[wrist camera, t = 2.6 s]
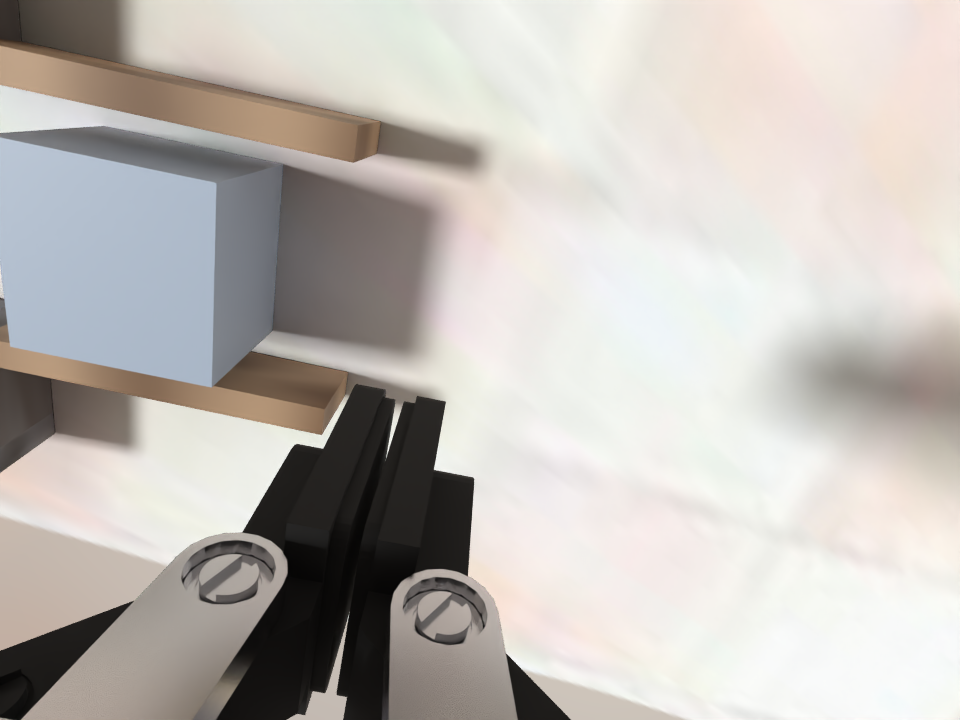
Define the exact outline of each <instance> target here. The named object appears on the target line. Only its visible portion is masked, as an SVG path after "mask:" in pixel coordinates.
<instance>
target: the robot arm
mask: <svg viewBox="0 0 960 720" xmlns="http://www.w3.org/2000/svg"><path fill="white" fill-rule="evenodd" d="M385 394H386V390H384V389H379V388H374V387H369V386H363V385H358V384H356V385H355V386H354V388H353V390H352V392H351V394H350V396H349V398H348V400H347V402H346V404H345V407H344V409H343V411H342V413H341V415H340V417H339V419H338V421H337V423H336V425H335V427H334V429H333V431H332V433H331V435H330V437H329V439H328V441H327V443H326V445H325V447H324V449H321V448H316V447H310V446H305V445H300V444H296V445H294V446H293V448H292V449H291V451H290V452H289V454H288V456H287V457H286V459H285V461H284V463H283V464H282V466H281V468H280V469H279V471H278V473H277V474H276V476H275V478H274V480H273V481H272V483H271V485H270V486H269V488H268V490H267V491H266V493H265V495H264V497H263V498H262V500H261V502H260V503H259V505H258V507H257V508H256V510H255V512H254V514H253V515H252V517H251V519H250V520H249V522H248V524H247V525H246V527H245V529H244V531H243V532H242V533H223V534H219V535H214V536H210V537H207V538H204V539H202V540H200V541H198V542H196V543H194V544H191V545H190V546H189V547H188V548H186V549H185V550H184V551H182V552H181V553H180V554H179V555H178V556H177V557H176V558H175V559H174V560H173V561H172V562H171V563H170V564H169V565H168V566H167V567H166V568H165V569H164V570H163V572H162V573H161V574H160V575H159V576H158V577H157V578H156V579H155V580H154V581H153V582H152V583H151V584H150V585H149V586H148V587H147V588H146V589H145V590H144V591H143V592H142V593H141V595H140V596H139V597H138V598H137V599H136V600H135V601H132V602H129V603H127V604H124V605H121V606H119V607H116V608H113V609H111V610H108V611H106V612H103V613H100V614H97V615H95V616H92V617H89V618H87V619H84V620H81V621H79V622H76V623H73V624H71V625H68V626H65V627H63V628H60V629H57V630H55V631H52V632H49V633H47V634H44V635H41V636H39V637H36V638H33V639H31V640H28V641H26V642H23V643H20V644H17V645H14V646H12V647H9V648H7V649H4V650H1V651H0V720H287V719H289V718H290V717H292V716H293V715H295V714H302V715H305V713H306V710H307V707H308V704H309V701H310V698H311V694H312V691H316V692H321V693H325V692H326V690H327V687H328V684H329V680H330V677H331V673H332V670H333V667H334V663H335V659H336V656H337V653H338V649H339V646H340V643H341V639H342V636H343V632H344V629H345V625H346V622H347V619H348V615H349V619H348V625H347V632H346V638H345V644H344V651H343V657H342V663H341V669H340V675H339V682H338V688H337V695H339V696H345V697H347V701H346V707H345V713H344V719H343V720H570V719H569V717H568V716H567V715H566V714H565V713H564V712H563V711H562V710H561V709H560V708H559V707H558V706H557V705H556V704H555V703H554V702H553V701H552V700H551V699H550V698H549V697H548V696H547V695H546V694H545V693H544V692H543V691H542V690H541V689H540V688H539V687H538V686H537V685H536V684H535V683H534V682H533V681H532V680H531V678H529V677H528V675H527V674H526V673H525V672H524V671H523V670H522V669H521V668H520V667H519V666H518V665H517V664H516V663H515V662H514V661H513V660H512V659H511V658H510V657H509V656H508V655H507V654H506V652H505V646H504V640H503V635H502V629H501V624H500V618H499V613H498V610H497V607H496V604H495V601H494V599H493V598H492V596H491V595H490V594H489V592H488V591H487V590H486V589H485V587H483V586H482V585H481V584H479V583H478V582H477V581H475V580H474V579H473V578H471V577H468V565H469V550H470V535H471V521H472V506H473V491H474V478H473V477H468V476H462V475H457V474H452V473H447V472H441V471H436V470H434V465H435V460H436V454H437V448H438V443H439V437H440V432H441V426H442V420H443V415H444V409H445V403H446V402H445V401H440V400H435V399H430V398H424V397H419V396H417V398H416V402H415V403H410V402H405V401H404V404H403V407H402V410H401V413H400V416H399V419H398V423H397V426H396V429H395V432H394V435H393V439H392V442H391V445H390V448H389V451H388V455H387V458H386V454H387V449H388V443H389V437H390V431H391V425H392V419H393V413H394V407H395V399H390V398H385ZM385 460H386V461H385ZM349 612H350V613H349Z"/></svg>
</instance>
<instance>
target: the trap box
mask: <svg viewBox="0 0 960 720" xmlns="http://www.w3.org/2000/svg"><path fill="white" fill-rule="evenodd" d="M0 85H4V86H8V87H13V88H18V89H22V90H27V91H31V92H36V93H40V94H45V95H49V96H54V97H58V98H63V99H67V100H72V101H76V102H81V103H85V104H90V105H95V106H99V107H104V108H108V109H113V110H117V111H122V112H126V113H131V114H135V115H140V116H144V117H149V118H153V119H158V120H163V121H167V122H172V123H176V124H181V125H185V126H190V127H194V128H199V129H203V130H208V131H212V132H217V133H221V134H226V135H230V136H235V137H240V138H244V139H249V140H253V141H258V142H262V143H267V144H271V145H276V146H280V147H285V148H289V149H294V150H298V151H303V152H307V153H312V154H317V155H321V156H326V157H330V158H335V159H339V160H344V161H348V162H353V163H354V162H357V161H359V160H362V159H364V158H367V157H370V156H372V155H375V154H377V147H378V139H379V132H380V124H381V121H376V120H372V119H367V118H363V117H358V116H354V115H349V114H345V113H340V112H336V111H331V110H327V109H322V108H318V107H313V106H309V105H304V104H300V103H295V102H291V101H286V100H282V99H277V98H273V97H269V96H264V95H260V94H255V93H251V92H246V91H242V90H237V89H233V88H228V87H224V86H219V85H215V84H210V83H206V82H201V81H197V80H192V79H188V78H183V77H179V76H174V75H170V74H165V73H161V72H156V71H152V70H147V69H143V68H138V67H134V66H129V65H125V64H120V63H116V62H111V61H107V60H102V59H98V58H93V57H89V56H84V55H80V54H75V53H71V52H66V51H62V50H57V49H53V48H48V47H44V46H39V45H35V44H31V43H26V42H22V41H21V31H20V19H19V8H18V0H0ZM347 376H348V372H344V371H339V370H335V369H330V368H325V367H321V366H316V365H311V364H306V363H302V362H297V361H292V360H288V359H283V358H278V357H273V356H269V355H264V354H259V353H255V352H249V353H248V354H247V355H246V356H245V357H244V358H243V359H242V360H240V361H239V362H238V363H237V364H236V365H235V366H234V367H233V368H232V369H231V370H230V371H229V372H228V373H227V374H226V375H225V376H223V377H222V378H221V379H220V380H219V381H218V382H217V383H216V384H215V385H214V386H213V387H212V388H211V387H206V386H201V385H197V384H192V383H187V382H182V381H177V380H172V379H167V378H162V377H157V376H152V375H147V374H142V373H137V372H132V371H127V370H122V369H118V368H113V367H108V366H103V365H98V364H93V363H88V362H83V361H78V360H73V359H68V358H63V357H58V356H53V355H48V354H43V353H39V352H34V351H29V350H24V349H19V348H14V347H10V341H9V333H8V324H7V316H6V308H5V300H4V299H0V472H2V471H3V470H5V469H6V468H7V467H9V466H10V465H12V464H13V463H14V462H16V461H17V460H19V459H20V458H21V457H23V456H24V455H25V454H27V453H28V452H30V451H31V450H32V449H34V448H35V447H37V446H38V445H39V444H41V443H42V442H44V441H45V440H46V439H48V438H49V437H50V436H52V435H53V434H55V430H54V418H53V406H52V395H51V383H50V378H52V379H57V380H61V381H66V382H71V383H76V384H81V385H85V386H90V387H95V388H100V389H104V390H109V391H114V392H119V393H124V394H128V395H133V396H138V397H143V398H148V399H152V400H157V401H162V402H167V403H171V404H176V405H181V406H186V407H191V408H195V409H200V410H205V411H210V412H214V413H219V414H224V415H229V416H234V417H238V418H243V419H248V420H253V421H257V422H262V423H267V424H272V425H277V426H281V427H286V428H291V429H296V430H301V431H305V432H310V433H315V434H320V435H322V434H323V432H324V430H325V428H326V427H327V425H328V423H329V422H330V420H331V418H332V417H333V415H334V413H335V411H336V410H337V408H338V406H339V405H340V403H341V401H342V400H343V398H344V396H345V391H346V383H347Z"/></svg>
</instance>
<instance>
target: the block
mask: <svg viewBox="0 0 960 720" xmlns="http://www.w3.org/2000/svg"><path fill="white" fill-rule="evenodd" d="M282 177H283V164H280V163H275V162H271V161H266V160H261V159H256V158H252V157H247V156H242V155H237V154H233V153H228V152H223V151H219V150H214V149H209V148H204V147H200V146H195V145H190V144H185V143H181V142H176V141H171V140H167V139H162V138H157V137H152V136H148V135H143V134H138V133H133V132H129V131H124V130H119V129H115V128H110V127H105V126H98V127H83V128H69V129H54V130H39V131H25V132H10V133H0V267H1V275H2V283H3V291H4V300H5V308H6V316H7V324H8V333H9V341H10V347H14V348H19V349H24V350H29V351H34V352H39V353H43V354H48V355H53V356H58V357H63V358H68V359H73V360H78V361H83V362H88V363H93V364H98V365H103V366H108V367H113V368H118V369H122V370H127V371H132V372H137V373H142V374H147V375H152V376H157V377H162V378H167V379H172V380H177V381H182V382H187V383H192V384H197V385H201V386H206V387H211V388H212V387H213V386H214V385H215V384H216V383H217V382H218V381H219V380H220V379H221V378H222V377H223V376H225V375H226V374H227V373H228V372H229V371H230V370H231V369H232V368H233V367H234V366H235V365H236V364H237V363H238V362H239V361H240V360H242V359H243V358H244V357H245V356H246V355H247V354H248V353H249V352H250V351H251V350H252V349H253V348H254V347H255V346H256V345H257V344H259V343H260V342H261V341H262V340H263V339H264V338H265V337H266V336H267V335H268V334H269V333H270V332H271V331H272V329H273V314H274V299H275V283H276V268H277V253H278V238H279V222H280V207H281V192H282Z"/></svg>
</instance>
